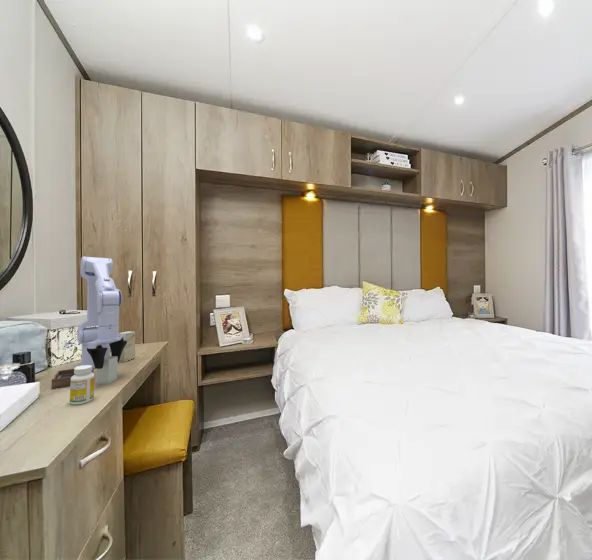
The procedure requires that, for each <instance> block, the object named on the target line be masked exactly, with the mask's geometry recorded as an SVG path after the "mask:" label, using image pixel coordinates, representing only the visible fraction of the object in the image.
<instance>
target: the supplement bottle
mask: <svg viewBox="0 0 592 560" xmlns="http://www.w3.org/2000/svg"><path fill="white" fill-rule="evenodd" d="M77 366H78V365H77ZM73 369H74V374H75V375H73V376H72V377H71V383H70V386H69V387H70V389H69V404H70V405H73V406H74V405H75V406H78V405H83V404H87V403H89V402H91V401H93V400H94V398H95V376H96V375H95V372H94V373H92V372H91V371H92V366H91V365H83V366H78V367H76V368H75V367H74V368H73Z"/></svg>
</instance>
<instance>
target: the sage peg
mask: <svg viewBox="0 0 592 560" xmlns="http://www.w3.org/2000/svg"><path fill="white" fill-rule="evenodd" d="M117 361H118V356H111V355H110V356H105V357H104V364H103V368H102V369H96V384H106V385H107V384H111V383H112V382H115V381H116V380H118V362H117Z"/></svg>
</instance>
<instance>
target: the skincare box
mask: <svg viewBox="0 0 592 560" xmlns="http://www.w3.org/2000/svg"><path fill="white" fill-rule="evenodd" d="M119 334H126V336H125V340H124V341H127V344H126V345H125V347H124V349H123V351H122V354H121V357H120V360H119V362H118V363H126V362H129V361H132V360H131V359H133V358H135V359H136V331H130V330H128V331H127V330H126V331H123V332H122V331H121V332H118V335H119ZM128 360H129V361H128ZM133 360H134V359H133ZM125 361H126V362H125Z"/></svg>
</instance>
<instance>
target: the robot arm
mask: <svg viewBox="0 0 592 560" xmlns="http://www.w3.org/2000/svg"><path fill="white" fill-rule="evenodd" d="M79 267H80V271H79V272H80V277H81V278H83V279H85V281H86V283H87V288H86V290H87V294H86V296H87V297H86V298H87V301H86V305H87V306H86V307H87V308H86V309H87V310H86V319H85V320H84V321H82V322H81V323H79V325H78V326H77V333H76V334H77V335H76V336H77V337H76V338H77V339H76V340H77V344H79V345H81V362H80V363H81V364H78V365H76V366H75V367H74V368H76V367H78V366H83V365H91V366H94V370H97V369H102V368H103V364H104V357H105V356H118V361H117V363H120V362H119V360H120V357H121V354H122V351H123V349H124V347H125V345H126V344H127V341H124V340H125V336H126V334H119V335H118V333H119V328H120V327H119V326H120V325H119V323H120V307H121V305H122V301H123V296H122V295H123V294H122V291H121V290H120V289H118V288H117V286H116V283H115V281H114V279H113V278H111V277H110V275H111V274H112V272H113V268H114V262H113V259H112V258H110V257H108V258H107V257H94V256H93V257H92V256H86V255H85V256H84V255H83V256H82V257H81V258H80V266H79Z"/></svg>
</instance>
